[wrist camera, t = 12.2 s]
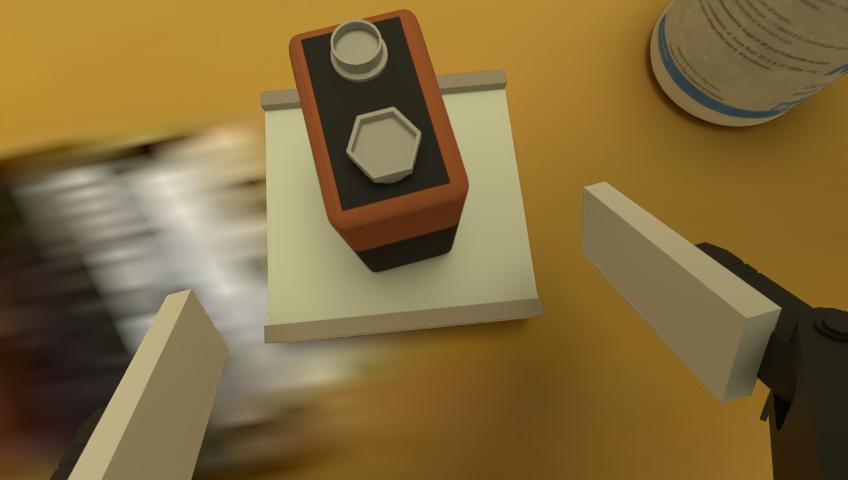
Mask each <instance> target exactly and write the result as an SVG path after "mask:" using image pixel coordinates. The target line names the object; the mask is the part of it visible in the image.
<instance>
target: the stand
mask: <svg viewBox="0 0 848 480" xmlns="http://www.w3.org/2000/svg"><path fill="white" fill-rule="evenodd" d="M436 79H437V82H438V85H439V88H440V91H441V95H442V98H443V101H444V104H445V107H446V110H447V114H448V117H449V120H450V123H451V126H452V129H453V132H454V136H455V139H456V142H457V145H458V148H459V151H460V154H461V158H462V161H463V164H464V167H465V170H466V174H467V177H468V181H469V190H468V194H467V197H466V201H465V204H464V208H463V211H462V215H461V218H460V222H459V226H458V229H457V233H456V236H455V240H454V243H453V247H452V249H451V251H450V252H449V253H447V254H443V255H440V256H436V257H433V258H429V259H425V260H422V261H418V262H414V263H411V264H407V265H403V266H400V267H396V268H392V269H389V270H385V271H381V272H372V271H371V270H370V269H368V267H367V266H366V265H365V264H364V263H363V262H362V260H361V259H360V258H359V257H358V256H357V255H356V253H355V252H354V251H353V250H352V249H351V248H350V246H349V245H348V244H347V243H346V242H345V240H344V239H343V238H342V237H341V236H340V235H339V233H338V232H337V231H336V230H335V229H334V228H333V226H332V225H331V224H330V222H329V220H328V217H327V214H326V210H325V206H324V202H323V198H322V193H321V189H320V185H319V180H318V176H317V172H316V168H315V163H314V159H313V155H312V150H311V146H310V142H309V138H308V133H307V129H306V125H305V120H304V116H303V112H302V108H301V103H300V99H299V95H298V90H297V88H296V89H286V90H275V91H264V92H261V106H262V108H263V109H264V110H265V132H266V187H267V242H268V297H269V325H268V326H264V334H265V343H290V342H300V341H310V340H320V339H329V338H339V337H349V336H359V335H368V334H378V333H388V332H398V331H408V330H417V329H427V328H437V327H447V326H457V325H466V324H476V323H486V322H496V321H505V320H515V319H525V318H531V317H536V316H541V315H544V312H543V305H542V299H541V298H538V295H537V289H536V283H535V277H534V270H533V264H532V258H531V251H530V245H529V239H528V233H527V226H526V220H525V214H524V207H523V201H522V195H521V188H520V182H519V176H518V170H517V163H516V157H515V151H514V144H513V138H512V132H511V126H510V119H509V113H508V107H507V100H506V94H505V86H506V83H507V81H506V75H505V69H501V70H490V71H479V72H468V73H458V74H447V75H436Z"/></svg>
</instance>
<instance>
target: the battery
mask: <svg viewBox="0 0 848 480" xmlns="http://www.w3.org/2000/svg"><path fill="white" fill-rule="evenodd" d="M289 55H290V60H291V65H292V69H293V73H294V78H295V82H296V86H297V90H298V95H299V99H300V103H301V108H302V112H303V116H304V120H305V125H306V129H307V133H308V138H309V142H310V146H311V150H312V155H313V159H314V163H315V168H316V172H317V176H318V180H319V185H320V189H321V193H322V198H323V202H324V206H325V210H326V214H327V217H328V220H329V222H330V224H331V225H332V226H333V228H334V229H335V230H336V231H337V232H338V233H339V235H340V236H341V237H342V238H343V239H344V240H345V242H346V243H347V244H348V245H349V246H350V248H351V249H352V250H353V251H354V252H355V253H356V255H357V256H358V257H359V258H360V259H361V260H362V262H363V263H364V264H365V265H366V266H367V267H368V269H370V270H371V271H372V272H381V271H385V270H389V269H392V268H396V267H400V266H403V265H407V264H411V263H414V262H418V261H422V260H425V259H429V258H433V257H436V256H440V255H443V254H447V253H449V252H450V251H451V249H452V247H453V243H454V240H455V236H456V233H457V229H458V226H459V222H460V218H461V215H462V211H463V208H464V204H465V201H466V197H467V194H468V190H469V181H468V177H467V174H466V170H465V167H464V164H463V161H462V158H461V154H460V151H459V148H458V145H457V142H456V139H455V136H454V132H453V129H452V126H451V123H450V120H449V117H448V114H447V110H446V107H445V104H444V101H443V98H442V95H441V91H440V88H439V85H438V82H437V79H436V76H435V73H434V69H433V66H432V63H431V60H430V57H429V54H428V51H427V47H426V44H425V41H424V38H423V35H422V32H421V29H420V26H419V23H418V21H417V19H416V17H415V15H414V14H413V13H412V12H411V11H409V10H406V9H403V10H398V11H393V12H389V13H385V14H381V15H377V16H372V17H368V18H364V19H354V20H349V21H346V22H344V23H342V24H339V25H335V26H331V27H327V28H322V29H318V30H314V31H310V32H306V33H302V34H298V35H295V36H294V37H292V39H291V40H290V44H289Z"/></svg>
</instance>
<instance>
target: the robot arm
mask: <svg viewBox="0 0 848 480" xmlns="http://www.w3.org/2000/svg"><path fill="white" fill-rule="evenodd" d="M583 255H584V256H585V257H586V258H587V259H588V260H589V261H590V262H591V264H592V265H593V266H594V267H595V268H596V269H597V270H598V271H599V272H600V273H601V274H602V275H603V276H604V278H605V279H606V280H607V281H608V282H609V283H610V284H611V285H612V286H613V287H614V288H615V289H616V290H617V292H618V293H619V294H620V295H621V296H622V297H623V298H624V299H625V300H626V301H627V302H628V303H629V304H630V306H631V307H632V308H633V309H634V310H635V311H636V312H637V313H638V314H639V315H640V316H641V317H642V318H643V320H644V321H645V322H646V323H647V324H648V325H649V326H650V327H651V328H652V329H653V330H654V331H655V332H656V334H657V335H658V336H659V337H660V338H661V339H662V340H663V341H664V342H665V343H666V344H667V345H668V346H669V348H670V349H671V350H672V351H673V352H674V353H675V354H676V355H677V356H678V357H679V358H680V359H681V360H682V362H683V363H684V364H685V365H686V366H687V367H688V368H689V369H690V370H691V371H692V372H693V373H694V375H695V376H696V377H697V378H698V379H699V380H700V381H701V382H702V383H703V384H704V385H705V386H706V387H707V389H708V390H709V391H710V392H711V393H712V394H713V395H714V396H715V397H716V398H717V399H718V400H719V401H720V403H725V402H728V401H732V400H735V399H738V398H742V397H745V396H749V395H752V392H753V389H754V386H755V383H756V380H757V377H758V378H759V379H760V380H761V381H762V382H763V383H764V384H765V385H766V386H767V387H769V388H770V389H771V390H770V392H769V395H768V397H767V400H766V403H765V405H764V408H763V410H762V413H761V417H760V420H763V421H766V420H767V417H768V414H769V424H770V438H771V451H772V465H773V478H774V480H848V312H846V311H842V310H838V309H834V308H821V307H818V308H812V307H811V306H809V305H808V304H806V303H805V302H803V301H802V300H800V299H799V298H797V297H796V296H794V295H793V294H791V293H790V292H788V291H787V290H785V289H784V288H782V287H781V286H779V285H778V284H776V283H775V282H773V281H772V280H770V279H769V278H767V277H766V276H764V275H763V274H761V273H757V270H755V269H754V268H753V267H751V266H750V265H748V264H744V263H743V261H742V260H741V259H739V258H738V257H736V256H735V255H733V254H732V253H730V252H729V251H727V250H725V249H722V248H720V247H717V246H714V245H711V244H709V243H706V242H704V243H701V244H697V245H693V244H691V243H690V242H689V241H687V240H686V239H685V238H683V237H682V236H680V235H679V234H678V233H676V232H675V231H673V230H672V229H671V228H669V227H668V226H666V225H665V224H664V223H662V222H661V221H660V220H658V219H657V218H655V217H654V216H653V215H651V214H650V213H648V212H647V211H646V210H644V209H643V208H641V207H640V206H639V205H637V204H636V203H635V202H633V201H632V200H630V199H629V198H628V197H626V196H625V195H623V194H622V193H621V192H619V191H618V190H616V189H615V188H614V187H612V186H611V185H610V184H608V183H607V182H601V183H597V184H594V185H590V186H586V187H584V193H583ZM228 351H229V348H228V347H227V345H226V344H225V342H224V340H223V339H222V337H221V335H220V334H219V332H218V331H217V329H216V327H215V326H214V324H213V323H212V321H211V319H210V318H209V316H208V315H207V313H206V311H205V310H204V308H203V307H202V305H201V303H200V302H199V300H198V299H197V297H196V295H195V294H194V292H193V291H192V289H189V290H186V291H182V292H178V293H174V294H170V295H167V297H166V299H165V301H164V302H163V304H162V306H161V308H160V310H159V312H158V314H157V315H156V317H155V319H154V321H153V323H152V325H151V327H150V328H149V330H148V332H147V334H146V336H145V338H144V339H143V341H142V343H141V345H140V347H139V349H138V351H137V352H136V354H135V356H134V358H133V360H132V362H131V364H130V365H129V367H128V369H127V371H126V373H125V375H124V376H123V378H122V380H121V382H120V384H119V386H118V388H117V389H116V391H115V393H114V395H113V397H112V399H111V401H110V402H109V404H108V406H105V407H101V408H98V409H97V410H96V411H95V412H94V413H93V414H92V415H91V416H90V418H89V419H88V420H87V421H86V422H85V423H84V424H83V425H82V426H81V427H80V429H79V430H78V432H77V434H76V436H75V437H74V439H73V441H72V442H71V444H70V446H69V448H68V449H69V451H68V452H66V453H65V455H64V456H63V458H62V460H61V462H60V463H59V465H58V466H59V469H57V470H55V472H54V474H53V475H52V477H51V479H50V480H191V478H192V475H193V471H194V468H195V464H196V461H197V457H198V454H199V450H200V447H201V444H202V440H203V437H204V433H205V430H206V426H207V423H208V419H209V416H210V413H211V409H212V406H213V402H214V399H215V395H216V392H217V388H218V385H219V382H220V378H221V375H222V371H223V368H224V364H225V361H226V357H227V354H228Z"/></svg>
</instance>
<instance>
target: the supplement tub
mask: <svg viewBox="0 0 848 480" xmlns="http://www.w3.org/2000/svg"><path fill="white" fill-rule="evenodd" d="M650 54H651V63H652V68H653V71H654V74H655V76H656V79H657V81H658V82H659V84H660V86H661V87H662V89H663V90H664V91H665V93H666V94H667V95H668V96H669V97H670V98H671V99H672V100H673V101H674V102H675V103H676V104H677V105H678V106H680V107H681V108H682V109H684V110H685V111H687V112H688V113H690V114H692V115H693V116H696V117H698V118H700V119H703V120H705V121H708V122H711V123H715V124H720V125H725V126H751V125H756V124H761V123H764V122H767V121H770V120H772V119H775V118H777V117H779V116H781V115H783V114H784V113H786V112H787V111H789V110H790V109H792V108H794V107H795V106H797V105H798V104H800V103H802V102H803V101H805V100H806V99H808V98H809V97H811V96H813V95H814V94H816V93H817V92H819V91H821V90H822V89H824V88H825V87H827V86H828V85H830V84H831V83H833V82H835V81H836V80H838V79H839V78H841V77H842V76H844V75H845V74H847V73H848V0H671V1H670V3H669V4H668V6H667V7H666V8H665V10H664V11H663V13H662V14H661V16H660V17H659V19H658V21H657V23H656V25H655V27H654V30H653V33H652V37H651V45H650Z"/></svg>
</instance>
